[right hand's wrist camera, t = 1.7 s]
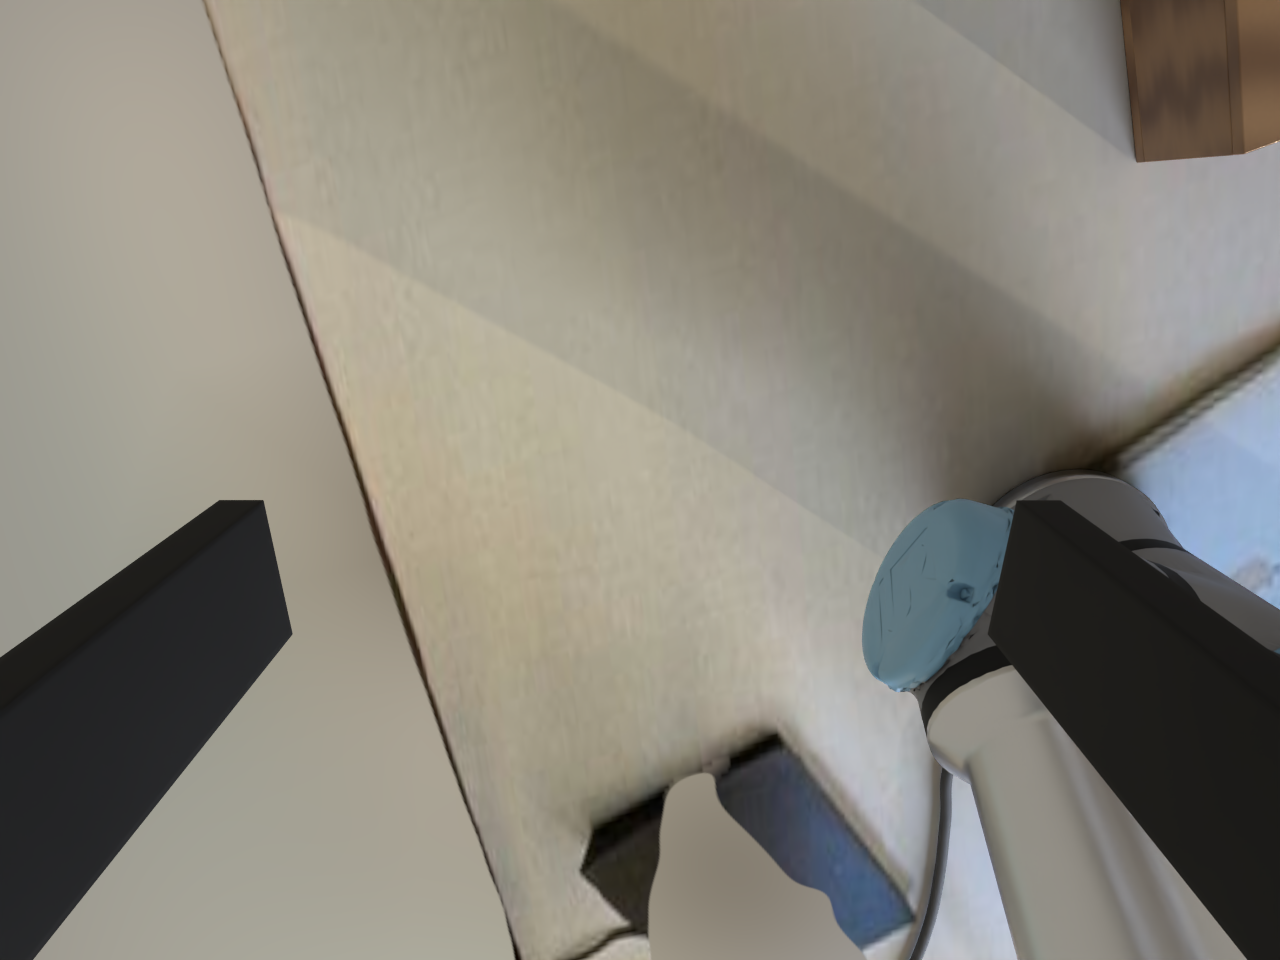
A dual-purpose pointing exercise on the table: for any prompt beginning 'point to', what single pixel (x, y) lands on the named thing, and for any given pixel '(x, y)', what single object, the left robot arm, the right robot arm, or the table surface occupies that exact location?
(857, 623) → the table surface
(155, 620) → the right robot arm
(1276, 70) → the wooden drawer box
